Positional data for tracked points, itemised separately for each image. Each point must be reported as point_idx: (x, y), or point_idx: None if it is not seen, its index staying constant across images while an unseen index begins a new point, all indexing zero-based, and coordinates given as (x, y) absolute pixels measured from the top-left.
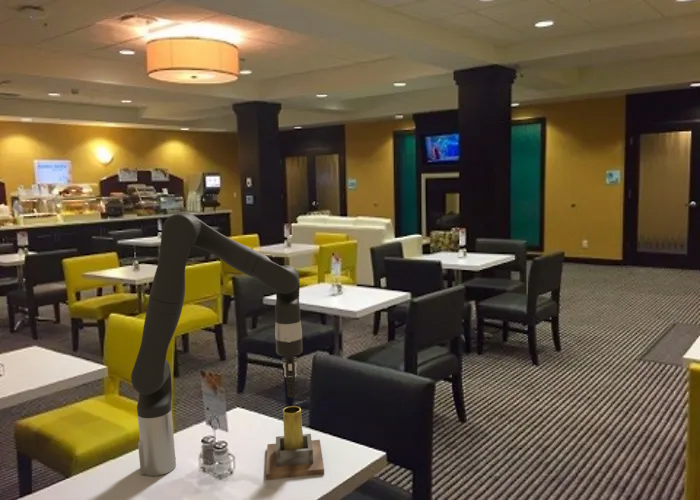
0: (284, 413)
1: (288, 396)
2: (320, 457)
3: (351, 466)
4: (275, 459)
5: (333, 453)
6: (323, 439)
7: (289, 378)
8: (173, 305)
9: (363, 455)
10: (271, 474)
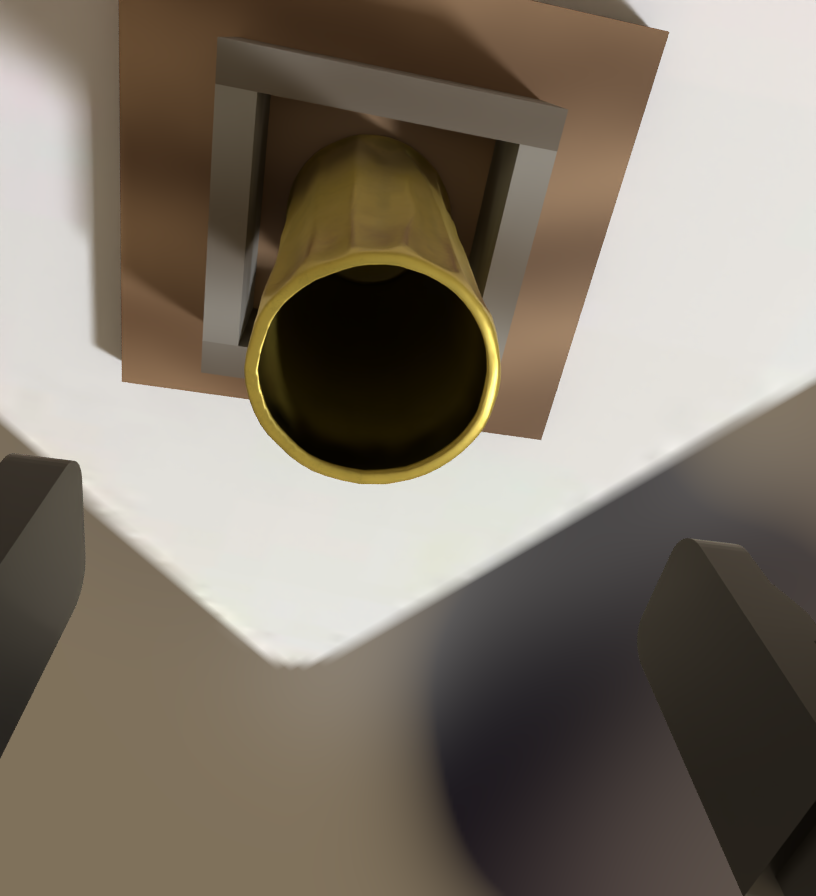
0: (322, 257)
1: (8, 471)
2: None
3: (192, 524)
4: (365, 53)
5: None
6: (587, 456)
7: (741, 702)
8: None
9: (299, 602)
10: None
